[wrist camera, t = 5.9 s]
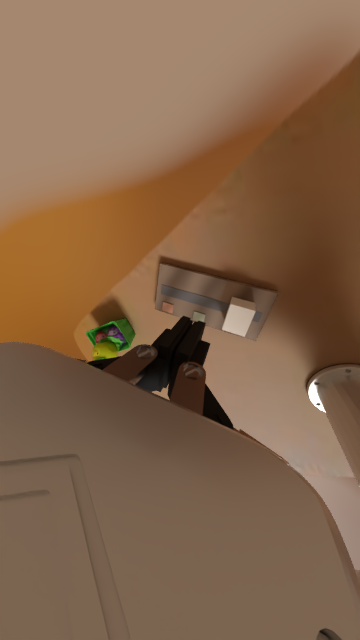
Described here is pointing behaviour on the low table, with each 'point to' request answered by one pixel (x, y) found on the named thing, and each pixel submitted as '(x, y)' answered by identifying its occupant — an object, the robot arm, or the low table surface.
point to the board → (209, 297)
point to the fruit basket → (111, 339)
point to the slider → (239, 316)
